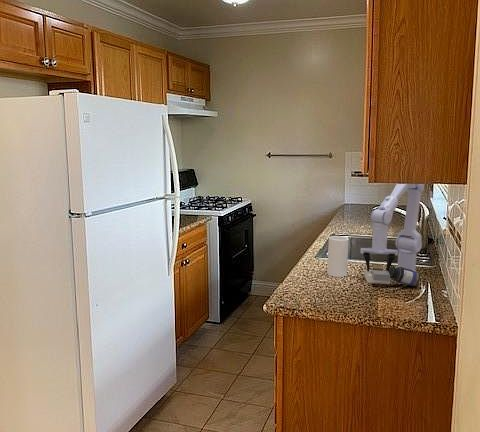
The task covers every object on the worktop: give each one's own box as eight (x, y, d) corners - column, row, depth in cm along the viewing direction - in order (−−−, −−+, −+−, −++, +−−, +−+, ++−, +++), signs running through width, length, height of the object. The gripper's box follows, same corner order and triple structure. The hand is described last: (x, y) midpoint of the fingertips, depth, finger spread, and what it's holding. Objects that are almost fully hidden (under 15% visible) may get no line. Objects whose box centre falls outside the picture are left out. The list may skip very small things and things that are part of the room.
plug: (372, 278, 197) (373, 264, 196) (380, 279, 197) (381, 265, 196) (373, 281, 194) (374, 267, 193) (382, 281, 193) (383, 267, 192)
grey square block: (371, 275, 190) (372, 270, 190) (387, 276, 189) (387, 270, 189) (373, 280, 184) (374, 274, 184) (389, 280, 183) (390, 274, 183)
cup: (334, 271, 208) (336, 235, 206) (350, 274, 202) (352, 238, 200) (323, 274, 202) (325, 237, 200) (339, 278, 197) (341, 240, 194)
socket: (364, 276, 200) (365, 269, 200) (386, 277, 199) (387, 270, 199) (367, 282, 192) (367, 275, 191) (390, 283, 190) (390, 276, 190)
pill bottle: (411, 281, 191) (385, 274, 190) (417, 268, 189) (391, 261, 188) (415, 289, 186) (389, 282, 185) (422, 277, 183) (395, 269, 182)
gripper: (362, 240, 190) (360, 272, 192) (400, 241, 188) (397, 274, 190) (360, 236, 197) (358, 268, 199) (396, 238, 195) (394, 270, 197)
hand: (377, 271), depth 195 cm, fingers open, 7 cm apart
